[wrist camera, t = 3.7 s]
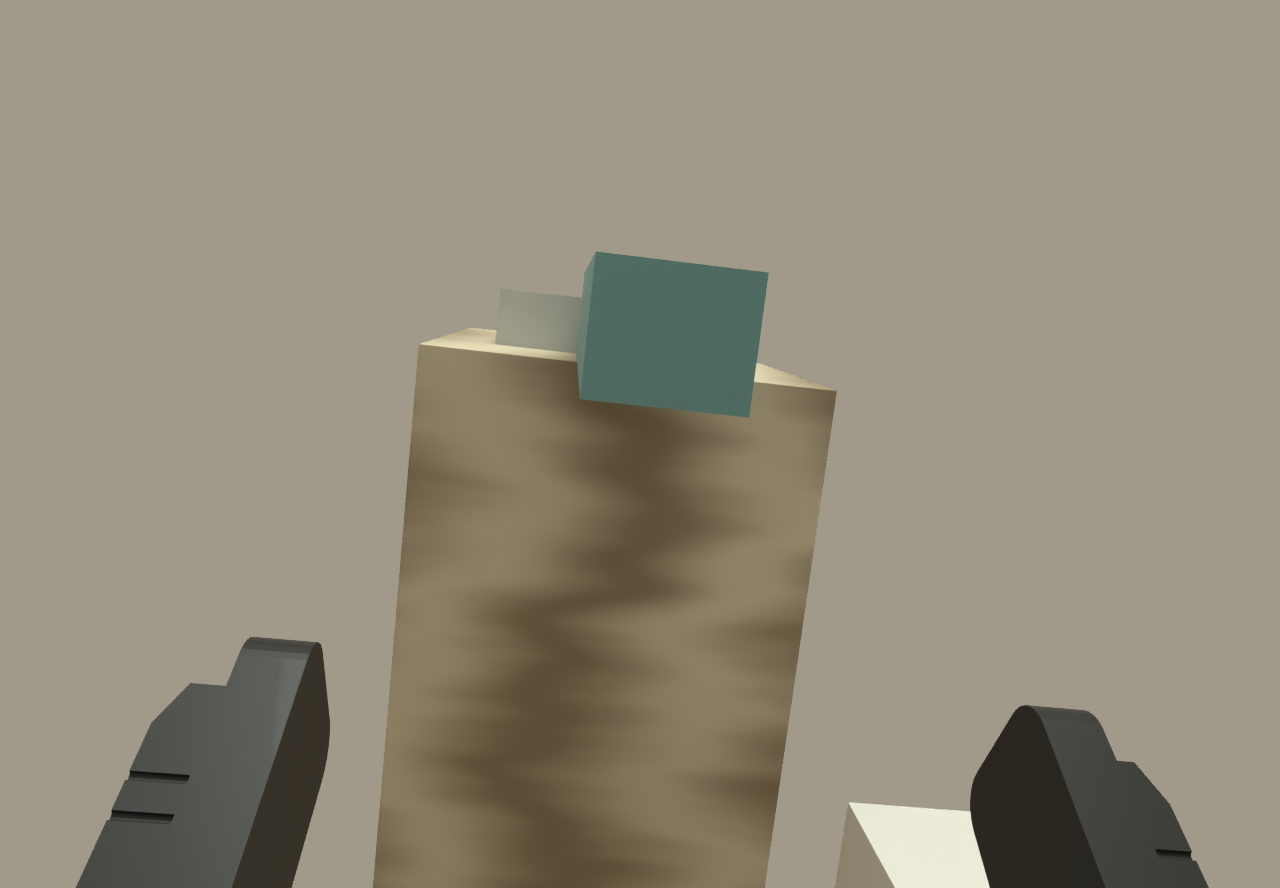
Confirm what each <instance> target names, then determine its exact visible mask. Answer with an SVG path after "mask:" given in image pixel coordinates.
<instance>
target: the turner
mask: <svg viewBox="0 0 1280 888" xmlns="http://www.w3.org/2000/svg"><path fill="white" fill-rule="evenodd" d="M767 280H768V273H767V272H758V271H750V270H742V269H733V268H725V267H717V266H709V265H701V264H693V263H684V262H676V261H667V260H660V259H652V258H644V257H636V256H627V255H618V254H611V253H603V252H596V253H595V255H594V256H593V258H592V260H591V262H590V264H589V266H588V267H587V270H586V271H585V274H584V284H583V293H582V298H580V297H570V296H563V295H554V294H545V293H537V292H529V291H520V290H511V289H502V288H501V289H500V298H499V309H498V319H497V330H496V340H495V344H498V345H506V346H515V347H524V348H533V349H542V350H551V351H560V352H568V353H576V355H577V368H578V380H579V393H580V399H583V400H592V401H601V402H610V403H620V404H629V405H638V406H647V407H656V408H665V409H675V410H684V411H693V412H702V413H711V414H720V415H730V416H739V417H748V418H749V416H750V408H751V401H752V393H753V386H754V378H755V371H756V363H757V356H758V348H759V341H760V333H761V325H762V318H763V311H764V303H765V296H766V288H767Z"/></svg>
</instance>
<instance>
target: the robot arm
mask: <svg viewBox="0 0 1280 888" xmlns="http://www.w3.org/2000/svg"><path fill="white" fill-rule="evenodd" d="M329 736H330V718H329V709H328V699H327V690H326V680H325V670H324V661H323V652H322V647H321V644H320V643H318V642H307V641H295V640H283V639H272V638H259V637H250V638H249V639H248V640H247V641H246V642H245V643H244V645H243V647H242V649H241V651H240V653H239V656H238V658H237V660H236V663H235V665H234V668H233V670H232V673H231V675H230V678H229V680H228V683H227V685H226V686H219V685H207V684H193V683H190V684H189V685H188V686H187V687H186V688H185V689H184V690H183V691H182V692H181V693H180V694H179V695H178V696H177V697H176V699H174V700H173V701H172V703H171V704H169V706H168V707H167V708H166V709H165V710H164V711H163V712H162V713H161V714H160V715H159V716H158V717H157V718H156V719H155V720H154V721H153V722H152V723H151V725H150V727H149V729H148V731H147V734H146V736H145V738H144V740H143V742H142V745H141V747H140V749H139V751H138V753H137V755H136V758H135V760H134V762H133V764H132V766H131V769H130V775H129V778H128V780H125V782H124V784H123V786H122V788H121V790H120V793H119V795H118V797H117V799H116V801H115V803H114V806H113V808H112V814H111V817H110V819H109V820H107V821H106V823H105V826H104V828H103V830H102V832H101V834H100V836H99V838H98V841H97V843H96V845H95V847H94V850H93V852H92V854H91V856H90V858H89V860H88V862H87V864H86V867H85V869H84V871H83V873H82V875H81V878H80V880H79V882H78V884H77V886H76V888H292V884H293V881H294V877H295V874H296V870H297V866H298V863H299V859H300V856H301V852H302V849H303V845H304V842H305V838H306V834H307V831H308V828H309V824H310V821H311V817H312V814H313V810H314V806H315V803H316V799H317V796H318V792H319V789H320V785H321V782H322V778H323V774H324V770H325V765H326V760H327V753H328V747H329ZM970 812H971V821H972V826H973V830H974V834H975V838H976V841H977V845H978V848H979V852H980V855H981V859H982V862H983V866H984V869H985V873H986V876H987V880H988V883H989V887H990V888H1208V885H1207V883H1206V881H1205V879H1204V877H1203V875H1202V873H1201V870H1200V868H1199V866H1198V864H1197V862H1196V861H1193V860H1192V858H1191V852H1192V851H1191V849H1190V847H1189V844H1188V842H1187V840H1186V838H1185V836H1184V834H1183V831H1182V829H1181V827H1180V825H1179V823H1178V821H1177V819H1176V816H1175V814H1174V812H1173V810H1172V808H1171V806H1170V804H1169V803H1168V802H1167V800H1166V799H1165V798H1164V797H1163V796H1162V795H1161V793H1160V792H1159V791H1158V790H1157V789H1156V788H1155V786H1154V785H1153V784H1152V783H1151V782H1150V780H1149V779H1148V778H1147V777H1146V776H1145V775H1144V773H1143V772H1142V771H1141V770H1140V769H1139V768H1138V766H1137V765H1136V764H1135V763H1134V762H1123V761H1117V760H1116V758H1115V756H1114V753H1113V751H1112V749H1111V746H1110V744H1109V742H1108V739H1107V737H1106V735H1105V733H1104V730H1103V728H1102V726H1101V724H1100V723H1099V721H1098V720H1097V719H1096V717H1095V716H1094V715H1093V714H1091V713H1090V712H1088V711H1085V710H1075V709H1063V708H1051V707H1039V706H1027V705H1024V706H1021V707H1019V708H1018V709H1017V710H1015V712H1014V713H1013V715H1012V716H1011V718H1010V720H1009V721H1008V723H1007V724H1006V726H1005V728H1004V729H1003V731H1002V733H1001V734H1000V736H999V738H998V739H997V741H996V742H995V744H994V746H993V747H992V749H991V751H990V752H989V754H988V756H987V757H986V759H985V761H984V762H983V764H982V766H981V767H980V769H979V770H978V772H977V774H976V776H975V778H974V781H973V784H972V789H971V798H970Z"/></svg>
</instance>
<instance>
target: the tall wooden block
mask: <svg viewBox="0 0 1280 888" xmlns="http://www.w3.org/2000/svg"><path fill="white" fill-rule="evenodd" d="M495 340H496V331H494V330H485V329H476V328H469V329H466V330H463V331H459V332H457V333H453V334H450V335H447V336H444V337H441V338H437V339H434V340H431V341H427V342H424V343H421V344H419V349H418V362H417V373H416V385H415V396H414V408H413V420H412V432H411V444H410V455H409V467H408V468H409V469H408V479H407V491H406V503H405V515H404V526H403V538H402V550H401V562H400V574H399V587H398V597H397V609H396V621H395V634H394V645H393V657H392V669H391V681H390V692H389V704H388V716H387V728H386V740H385V752H384V763H383V775H382V788H381V798H380V810H379V822H378V834H377V846H376V858H375V871H374V881H373V888H765V880H766V874H767V866H768V860H769V853H770V847H771V839H772V832H773V826H774V819H775V812H776V805H777V798H778V791H779V785H780V777H781V771H782V764H783V757H784V750H785V743H786V737H787V730H788V722H789V716H790V709H791V702H792V695H793V688H794V682H795V675H796V668H797V661H798V654H799V647H800V640H801V633H802V626H803V620H804V613H805V606H806V599H807V592H808V585H809V578H810V571H811V565H812V558H813V551H814V544H815V537H816V530H817V523H818V517H819V516H818V515H819V510H820V503H821V495H822V489H823V482H824V474H825V468H826V461H827V455H828V448H829V441H830V434H831V427H832V420H833V413H834V406H835V399H836V393H837V391H835V390H832V389H829V388H827V387H824V386H821V385H818V384H815V383H813V382H810V381H807V380H804V379H802V378H799V377H796V376H793V375H790V374H787V373H784V372H782V371H779V370H776V369H774V368H771V367H768V366H765V365H762V364H760V363H756V371H755V378H754V386H753V393H752V401H751V408H750V416H749V418H748V417H739V416H730V415H720V414H711V413H702V412H693V411H684V410H675V409H665V408H656V407H647V406H638V405H629V404H620V403H610V402H601V401H592V400H583V399H580V393H579V380H578V368H577V355H576V353H568V352H560V351H551V350H542V349H533V348H524V347H515V346H506V345H498V344H495Z"/></svg>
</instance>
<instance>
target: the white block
mask: <svg viewBox="0 0 1280 888" xmlns="http://www.w3.org/2000/svg"><path fill="white" fill-rule="evenodd" d="M835 888H990V887H989V883H988V880H987V876H986V873H985V869H984V866H983V862H982V859H981V855H980V852H979V848H978V845H977V841H976V838H975V834H974V830H973V826H972V821H971V812H968V811H955V810H942V809H929V808H916V807H903V806H902V807H901V806H889V805H876V804H863V803H850V802H849V803H848V808H847V814H846V821H845V827H844V834H843V840H842V846H841V852H840V859H839V865H838V872H837V878H836V884H835Z"/></svg>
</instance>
